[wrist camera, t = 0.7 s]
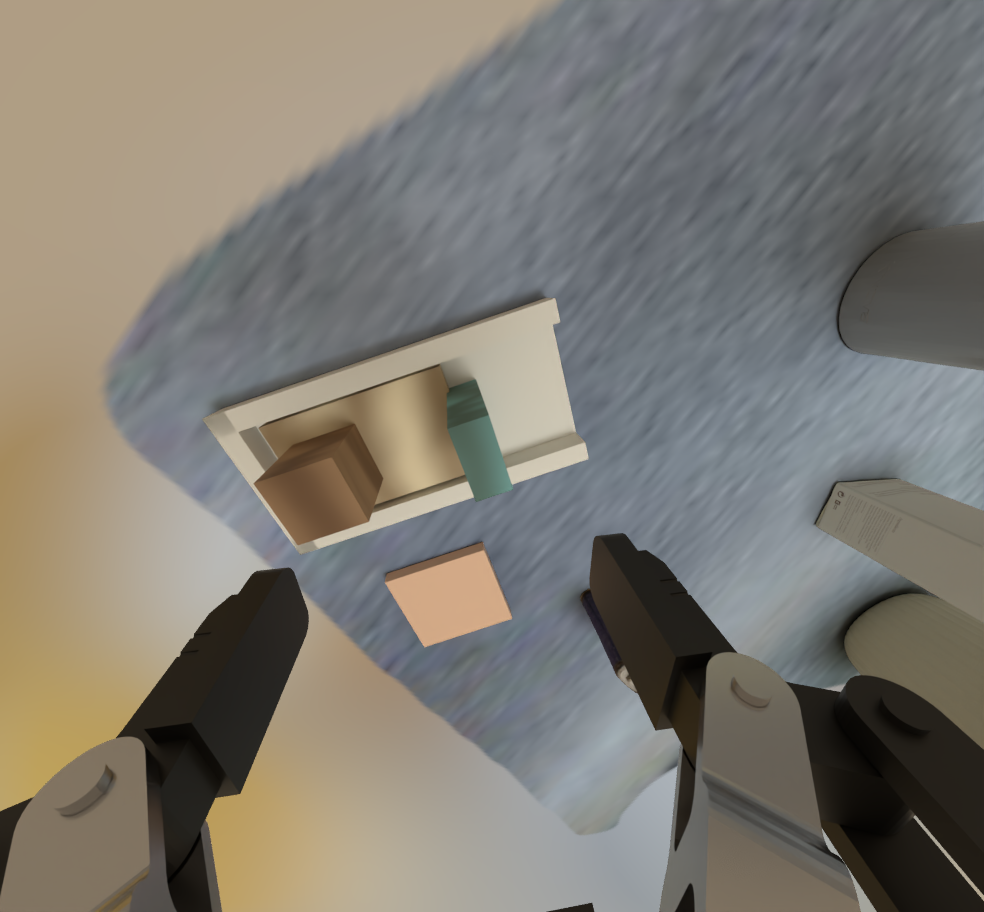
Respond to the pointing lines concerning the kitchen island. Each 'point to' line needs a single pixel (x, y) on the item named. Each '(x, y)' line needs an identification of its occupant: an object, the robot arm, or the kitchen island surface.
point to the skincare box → (913, 536)
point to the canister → (925, 654)
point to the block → (322, 485)
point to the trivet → (450, 594)
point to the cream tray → (463, 357)
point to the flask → (606, 639)
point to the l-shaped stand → (410, 433)
